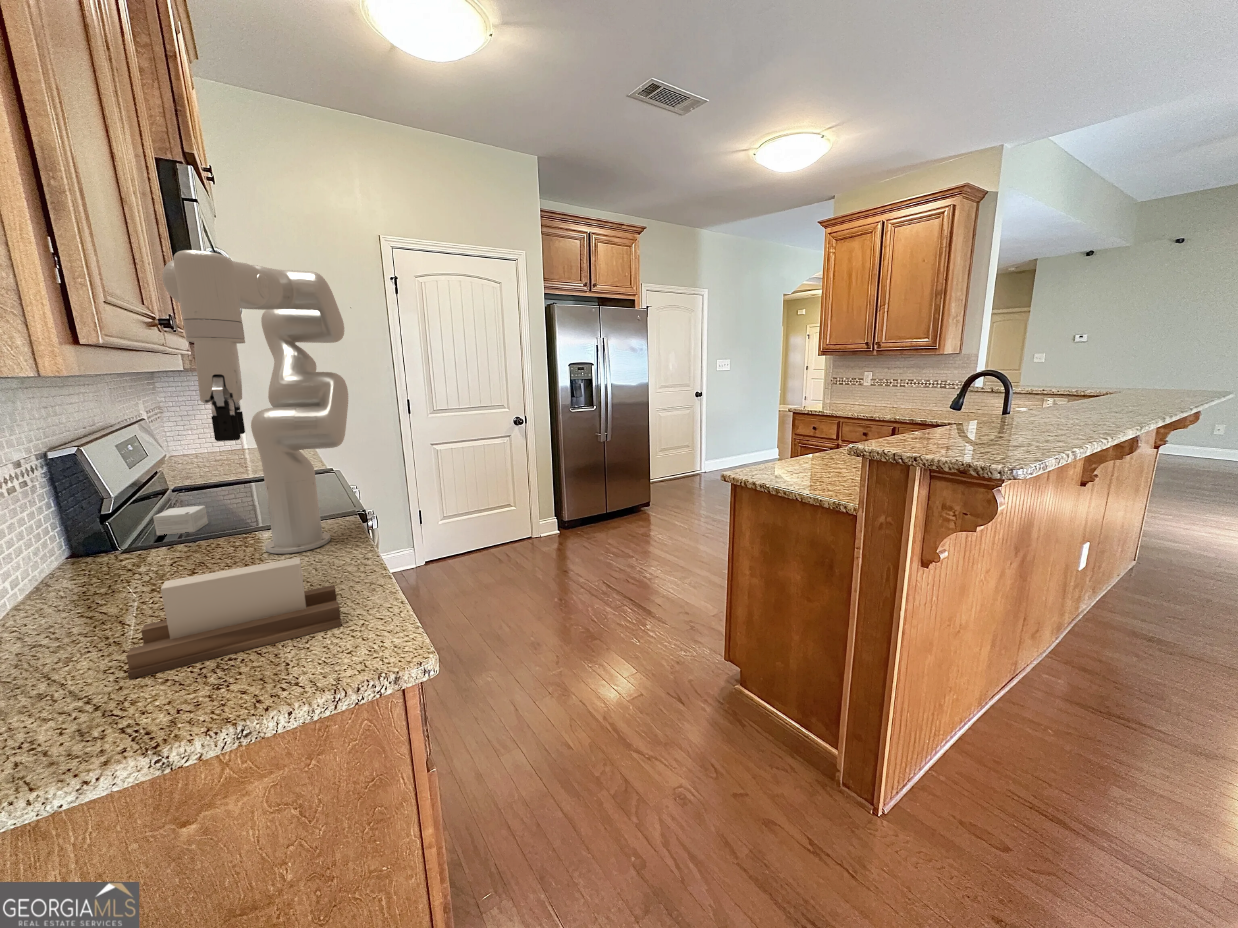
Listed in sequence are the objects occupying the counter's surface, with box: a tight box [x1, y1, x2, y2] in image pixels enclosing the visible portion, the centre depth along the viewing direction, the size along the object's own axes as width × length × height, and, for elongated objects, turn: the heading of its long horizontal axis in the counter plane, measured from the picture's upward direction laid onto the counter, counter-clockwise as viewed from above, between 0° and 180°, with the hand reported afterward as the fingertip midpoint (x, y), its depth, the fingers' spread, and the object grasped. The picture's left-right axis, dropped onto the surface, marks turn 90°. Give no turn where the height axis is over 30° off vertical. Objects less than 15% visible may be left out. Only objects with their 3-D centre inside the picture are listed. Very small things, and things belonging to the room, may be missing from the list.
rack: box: [126, 584, 342, 680], centre depth 73 cm, size 11×24×3 cm, turn 124°
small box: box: [152, 505, 209, 536], centre depth 123 cm, size 8×8×5 cm
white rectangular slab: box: [160, 557, 307, 639], centre depth 72 cm, size 3×16×9 cm, turn 124°
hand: (231, 437), depth 82 cm, fingers open, 9 cm apart
